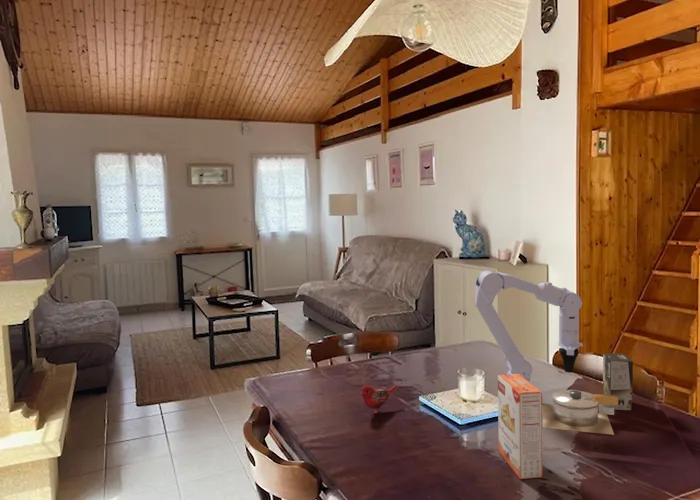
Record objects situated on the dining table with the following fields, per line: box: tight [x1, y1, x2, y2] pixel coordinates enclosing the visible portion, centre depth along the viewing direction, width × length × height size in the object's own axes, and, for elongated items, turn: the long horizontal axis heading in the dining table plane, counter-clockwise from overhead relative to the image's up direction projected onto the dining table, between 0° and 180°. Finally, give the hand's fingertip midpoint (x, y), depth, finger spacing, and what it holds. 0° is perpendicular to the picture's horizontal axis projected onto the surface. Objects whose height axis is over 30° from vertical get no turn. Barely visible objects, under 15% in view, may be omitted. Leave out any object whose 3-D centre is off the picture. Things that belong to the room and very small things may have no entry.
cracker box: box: [497, 373, 544, 480], centre depth 132 cm, size 14×6×21 cm, turn 5°
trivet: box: [542, 404, 615, 436], centre depth 157 cm, size 18×18×1 cm
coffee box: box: [602, 353, 634, 411], centre depth 167 cm, size 9×6×16 cm
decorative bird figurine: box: [360, 384, 398, 416], centre depth 169 cm, size 3×18×10 cm, turn 137°
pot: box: [552, 400, 615, 427], centre depth 157 cm, size 16×12×5 cm
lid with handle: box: [551, 389, 618, 409], centre depth 156 cm, size 17×13×2 cm
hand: (568, 371), depth 171 cm, fingers closed
